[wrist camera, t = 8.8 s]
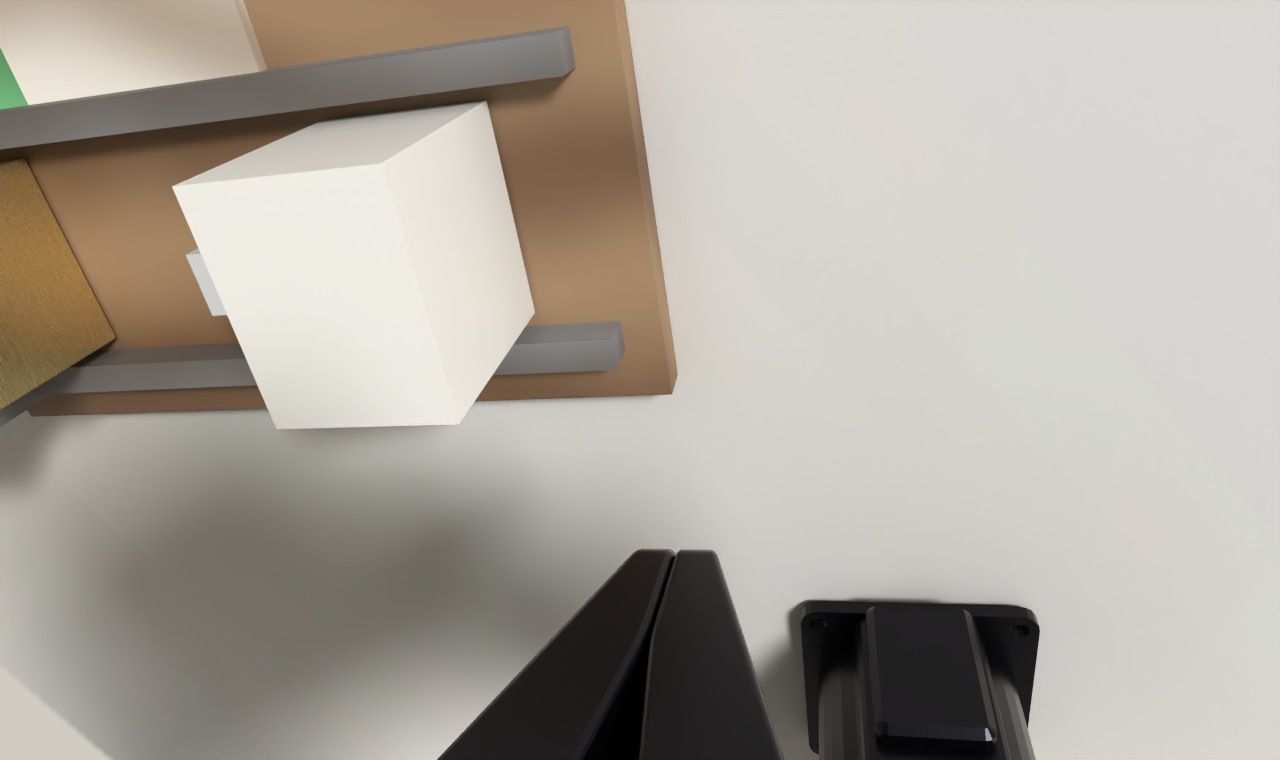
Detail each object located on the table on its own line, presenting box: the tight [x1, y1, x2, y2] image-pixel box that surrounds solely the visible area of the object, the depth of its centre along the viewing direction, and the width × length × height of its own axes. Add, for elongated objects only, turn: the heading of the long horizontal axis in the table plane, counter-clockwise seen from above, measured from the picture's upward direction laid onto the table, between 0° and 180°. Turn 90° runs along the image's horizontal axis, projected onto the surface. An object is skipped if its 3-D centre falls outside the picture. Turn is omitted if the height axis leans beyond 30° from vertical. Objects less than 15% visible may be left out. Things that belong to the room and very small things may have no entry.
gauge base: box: [0, 0, 677, 427], centre depth 17 cm, size 14×20×7 cm
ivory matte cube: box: [172, 100, 535, 429], centre depth 17 cm, size 5×6×5 cm
